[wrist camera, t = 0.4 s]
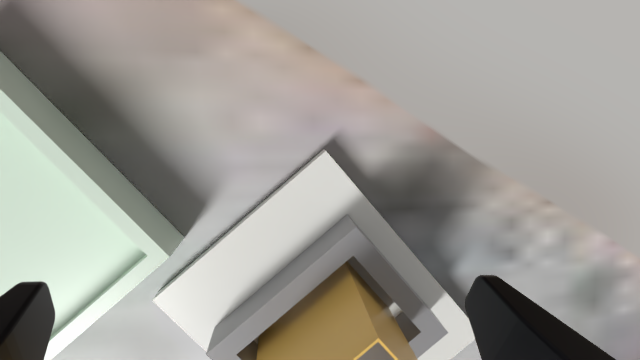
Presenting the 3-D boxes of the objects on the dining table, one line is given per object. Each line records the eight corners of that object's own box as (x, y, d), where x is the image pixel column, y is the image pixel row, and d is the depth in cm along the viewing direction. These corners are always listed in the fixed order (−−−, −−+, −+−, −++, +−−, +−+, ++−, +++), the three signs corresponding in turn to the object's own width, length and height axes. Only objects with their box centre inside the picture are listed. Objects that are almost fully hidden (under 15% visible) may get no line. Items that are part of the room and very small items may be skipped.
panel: (473, 324, 24) (505, 359, 21) (322, 450, 25) (329, 504, 21) (323, 149, 22) (332, 155, 18) (157, 292, 22) (135, 325, 19)
